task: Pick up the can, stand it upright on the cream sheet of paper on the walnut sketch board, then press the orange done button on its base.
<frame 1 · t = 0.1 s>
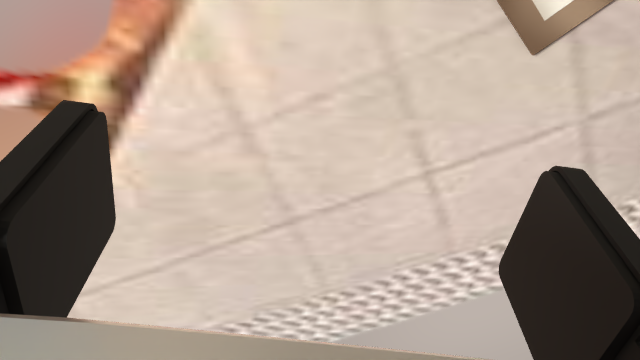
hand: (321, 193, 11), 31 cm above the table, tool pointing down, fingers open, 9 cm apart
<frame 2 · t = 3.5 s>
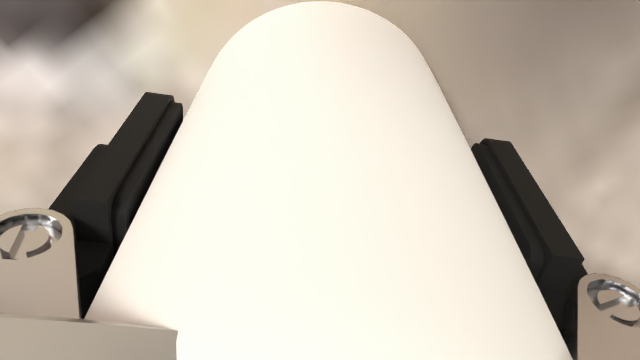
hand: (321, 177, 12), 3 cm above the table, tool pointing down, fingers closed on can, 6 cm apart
can: (320, 111, 14), on the table, touching gripper
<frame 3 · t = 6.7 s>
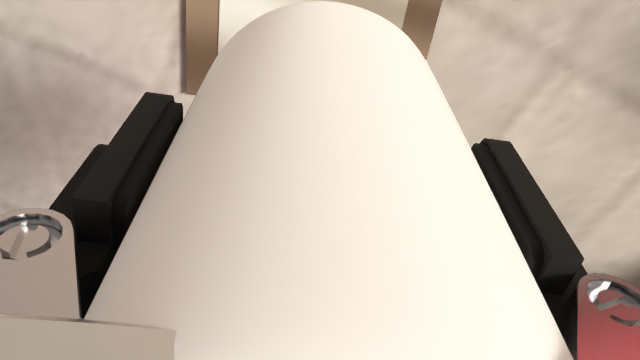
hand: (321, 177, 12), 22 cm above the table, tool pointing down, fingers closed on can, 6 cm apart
can: (320, 111, 14), point 18 cm above the table, touching gripper
when the fingers open (5 cm above the table, at t = 10.3 s): can drops 1 cm, resting on sketch board.
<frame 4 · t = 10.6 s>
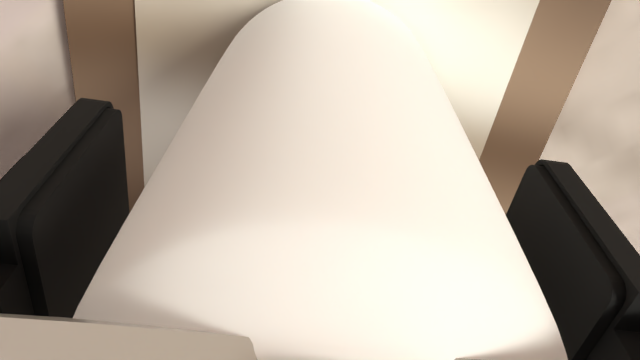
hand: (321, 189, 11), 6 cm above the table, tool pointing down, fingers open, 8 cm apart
sketch board: (321, 85, 16), on the table
can: (325, 96, 16), point 1 cm above the table, touching sketch board
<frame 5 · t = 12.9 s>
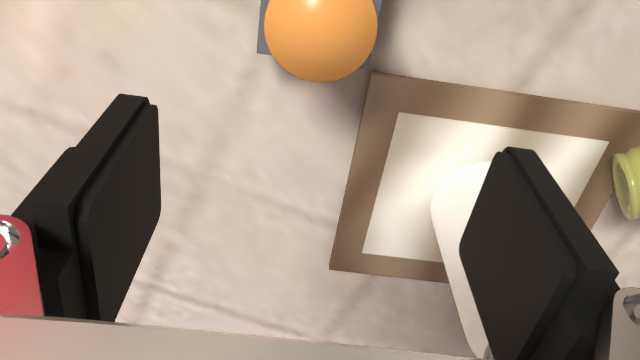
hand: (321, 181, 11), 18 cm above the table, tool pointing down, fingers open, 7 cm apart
sketch board: (473, 196, 33), on the table
done button: (320, 21, 21), point 6 cm above the table, slide at 0.0 cm
can: (477, 198, 33), resting on sketch board
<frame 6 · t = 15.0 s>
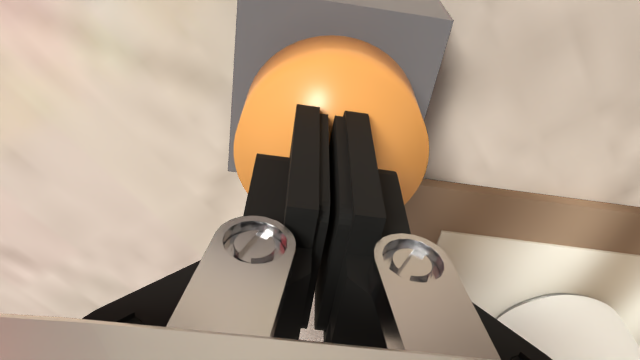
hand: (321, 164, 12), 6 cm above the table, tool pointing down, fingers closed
button base: (329, 64, 17), on the table
sketch board: (539, 327, 24), on the table
done button: (330, 137, 13), point 5 cm above the table, slide at 0.7 cm, touching gripper
can: (545, 333, 24), resting on sketch board
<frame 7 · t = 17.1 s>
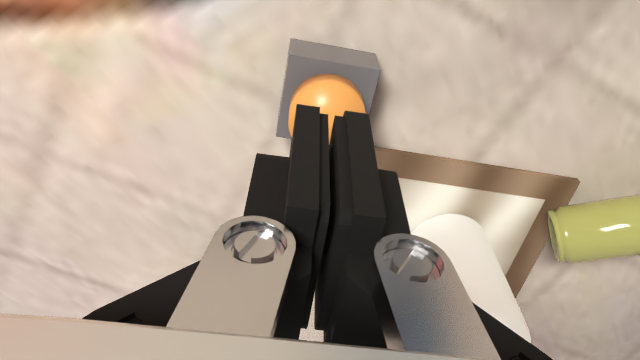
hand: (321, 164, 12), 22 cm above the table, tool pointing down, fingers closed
button base: (325, 85, 34), on the table
sketch board: (441, 238, 42), on the table
done button: (327, 116, 30), point 5 cm above the table, slide at 1.1 cm
can: (443, 240, 41), resting on sketch board
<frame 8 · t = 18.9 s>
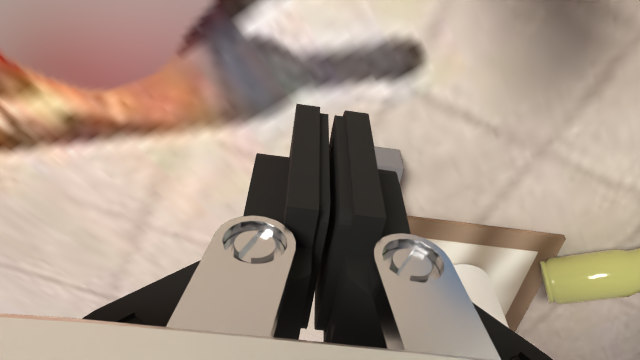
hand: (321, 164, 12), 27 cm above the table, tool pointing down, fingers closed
button base: (360, 173, 44), on the table
sketch board: (454, 281, 52), on the table
can: (456, 283, 51), resting on sketch board
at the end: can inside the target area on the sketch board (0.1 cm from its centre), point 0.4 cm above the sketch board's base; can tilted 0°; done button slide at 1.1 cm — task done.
